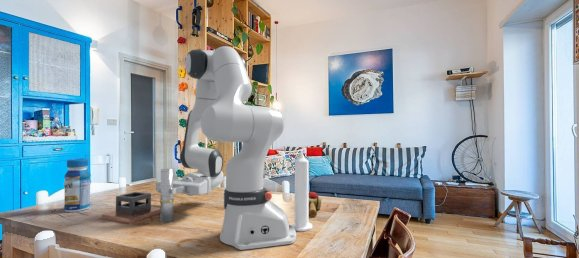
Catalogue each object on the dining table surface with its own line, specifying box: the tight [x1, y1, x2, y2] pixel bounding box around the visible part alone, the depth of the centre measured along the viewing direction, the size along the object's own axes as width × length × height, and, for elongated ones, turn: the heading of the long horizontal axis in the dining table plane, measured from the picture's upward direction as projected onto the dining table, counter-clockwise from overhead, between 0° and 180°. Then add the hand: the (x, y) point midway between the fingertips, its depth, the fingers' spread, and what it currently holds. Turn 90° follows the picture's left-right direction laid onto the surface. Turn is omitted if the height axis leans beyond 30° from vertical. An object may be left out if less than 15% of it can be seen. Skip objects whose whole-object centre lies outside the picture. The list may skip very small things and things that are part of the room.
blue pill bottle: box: [63, 158, 92, 213], centre depth 107 cm, size 8×8×20 cm
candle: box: [290, 150, 313, 232], centre depth 87 cm, size 7×7×25 cm
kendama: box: [308, 191, 322, 218], centre depth 107 cm, size 8×6×18 cm
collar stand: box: [101, 191, 161, 224], centre depth 99 cm, size 14×14×8 cm
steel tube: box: [159, 167, 175, 223], centre depth 94 cm, size 4×4×18 cm
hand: (165, 190), depth 93 cm, fingers closed on steel tube, 4 cm apart
